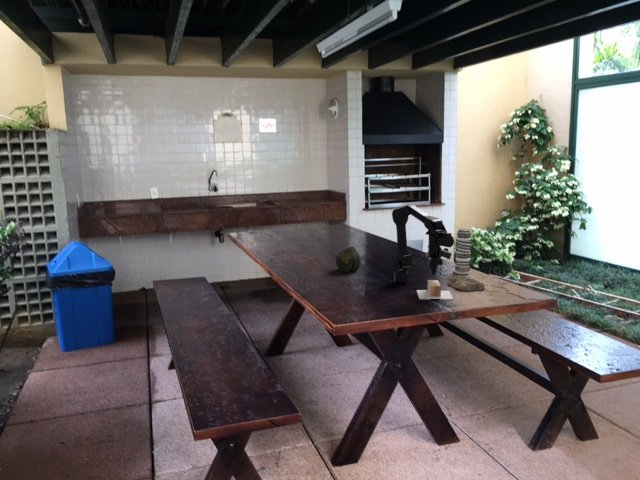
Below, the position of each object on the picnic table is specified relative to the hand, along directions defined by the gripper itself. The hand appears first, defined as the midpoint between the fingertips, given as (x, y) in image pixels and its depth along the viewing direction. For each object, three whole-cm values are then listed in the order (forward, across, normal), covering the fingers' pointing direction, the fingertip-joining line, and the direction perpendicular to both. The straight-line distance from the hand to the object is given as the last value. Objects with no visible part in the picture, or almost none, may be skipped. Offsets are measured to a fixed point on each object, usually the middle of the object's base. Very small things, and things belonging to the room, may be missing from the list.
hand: (433, 275), depth 264 cm
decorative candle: (+9, +42, -22) cm, 48 cm away
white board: (+9, -7, 0) cm, 11 cm away
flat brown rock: (+9, +12, -17) cm, 23 cm away
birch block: (+6, +1, 0) cm, 6 cm away
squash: (+9, +43, +44) cm, 62 cm away
